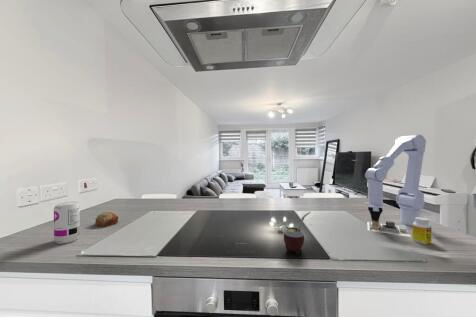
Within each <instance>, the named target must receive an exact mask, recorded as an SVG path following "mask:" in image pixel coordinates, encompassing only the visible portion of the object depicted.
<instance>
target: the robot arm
mask: <svg viewBox="0 0 476 317" xmlns="http://www.w3.org/2000/svg"><path fill="white" fill-rule="evenodd" d="M426 144H427V140H426V137H424V136H423V135H422V134H412V135H401V136H398V137H397V138H396V139H395V140H394V145H393V147H391V149H390V150H389V151H388V153H387V154H386V155H384V156H380V157H379V159H378V160H377V162H376V163H375V164H374V165H373V166H372V167H370V168H368V169H367V170H366V172H365V173H364V177H365V179H366V183H367V201H365V202H364V205H367V206H368V207H367V209H368V212H369V214H370V218H371V221H372V220H374V221H379V220H380V217H381V214H382V213H383V211H384V210H383V207H384V204H383V203H384V201H383V199H384V196H383V194H384V193H383V192H384V188H383V187H384V183H383V182H384V180H386V179H387V174H388V171H390V170H391V168H393V166H394V164H395V159H397V158H398V157H399V156H400V155H401V154H402V153H405V154H406V155H408V159H407V166H406V171H405V180H404V186H403V187H402V188H400V189H398V193H397V194H396V197H395V201H396V204H397V205H398V207H399V215H400V217H399V219H400V220H399V224H401V225H406V226H411V227H412V223H413V222H415V218H416V217H420V211H422V209H423V208H424V207H425V204H426V202H425V193H423V192H422V191H421V190H420V189H419V187H420V181H421V180H420V179H421V174H422V173H421V172H422V167H423V162H424V161H423V160H424V153H425V152H426Z"/></svg>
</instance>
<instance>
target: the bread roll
mask: <svg viewBox="0 0 476 317" xmlns="http://www.w3.org/2000/svg"><path fill="white" fill-rule="evenodd" d="M118 222H119V215H117V214H116V213H114V212H111V211H103V212H101V213H99V214H98V215H97V216H96V218H95V222H94V227H97V228H105V227H109V226H110V227H111V226H114V225H117V223H118Z"/></svg>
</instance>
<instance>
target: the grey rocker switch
mask: <svg viewBox="0 0 476 317" xmlns="http://www.w3.org/2000/svg"><path fill="white" fill-rule="evenodd" d="M398 226H399V229H400V231H404V232H407V230H408V228H407V225H405V224H402V223H399V224H398Z"/></svg>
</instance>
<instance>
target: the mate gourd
mask: <svg viewBox="0 0 476 317" xmlns="http://www.w3.org/2000/svg"><path fill="white" fill-rule="evenodd" d="M310 213H312V212H311V211H309V212H307V213H305V214H304V215H303V216H302V217H301V220H300V222H299V225H298V227H287V228H286V229H285V230H284V233H283V242H284V244H285V249H286V251H285V254H287V255H289V254H295V256H297V257H300V256H301V254H300V252H302V247H303V246H304V242H305V236H304V232H303V231H302V229H301V227H302V225H303V221H305V218H306V217H307V216H308V215H309V214H310Z"/></svg>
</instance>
